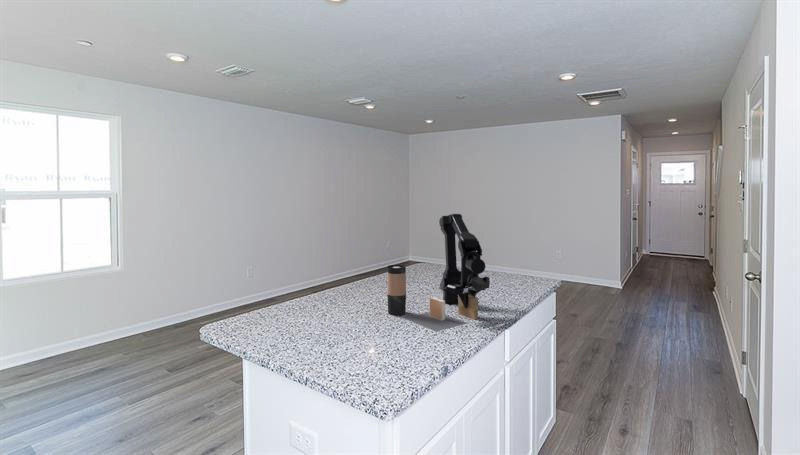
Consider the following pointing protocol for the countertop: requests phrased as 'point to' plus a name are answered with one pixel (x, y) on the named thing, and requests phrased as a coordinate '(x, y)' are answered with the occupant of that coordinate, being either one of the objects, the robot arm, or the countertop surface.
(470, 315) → the flat wooden plank
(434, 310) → the tile
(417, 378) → the countertop surface
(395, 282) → the travel mug
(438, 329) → the mat
